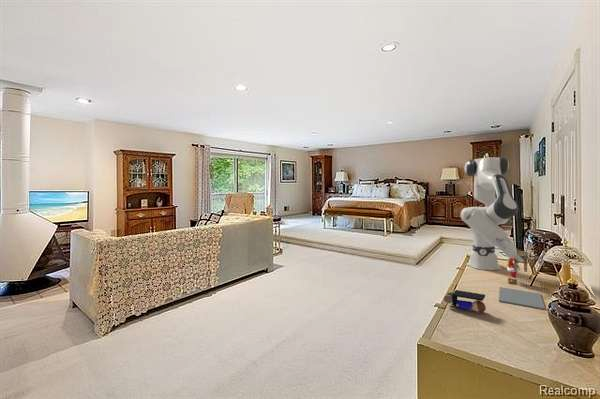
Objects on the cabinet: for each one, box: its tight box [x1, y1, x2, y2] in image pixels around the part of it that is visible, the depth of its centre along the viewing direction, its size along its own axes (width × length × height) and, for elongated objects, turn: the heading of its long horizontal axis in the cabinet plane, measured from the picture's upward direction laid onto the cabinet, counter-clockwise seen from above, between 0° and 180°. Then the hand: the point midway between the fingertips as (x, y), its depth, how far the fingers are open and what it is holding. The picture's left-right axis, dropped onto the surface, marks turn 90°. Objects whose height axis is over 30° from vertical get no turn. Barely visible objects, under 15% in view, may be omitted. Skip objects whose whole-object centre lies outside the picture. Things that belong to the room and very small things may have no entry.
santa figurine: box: [506, 248, 521, 285], centre depth 152 cm, size 25×6×19 cm, turn 144°
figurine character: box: [443, 289, 486, 314], centre depth 122 cm, size 7×8×15 cm
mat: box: [498, 286, 546, 311], centre depth 132 cm, size 20×16×1 cm
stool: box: [514, 250, 529, 273], centre depth 131 cm, size 5×5×8 cm
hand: (522, 259), depth 131 cm, fingers closed on stool, 5 cm apart
